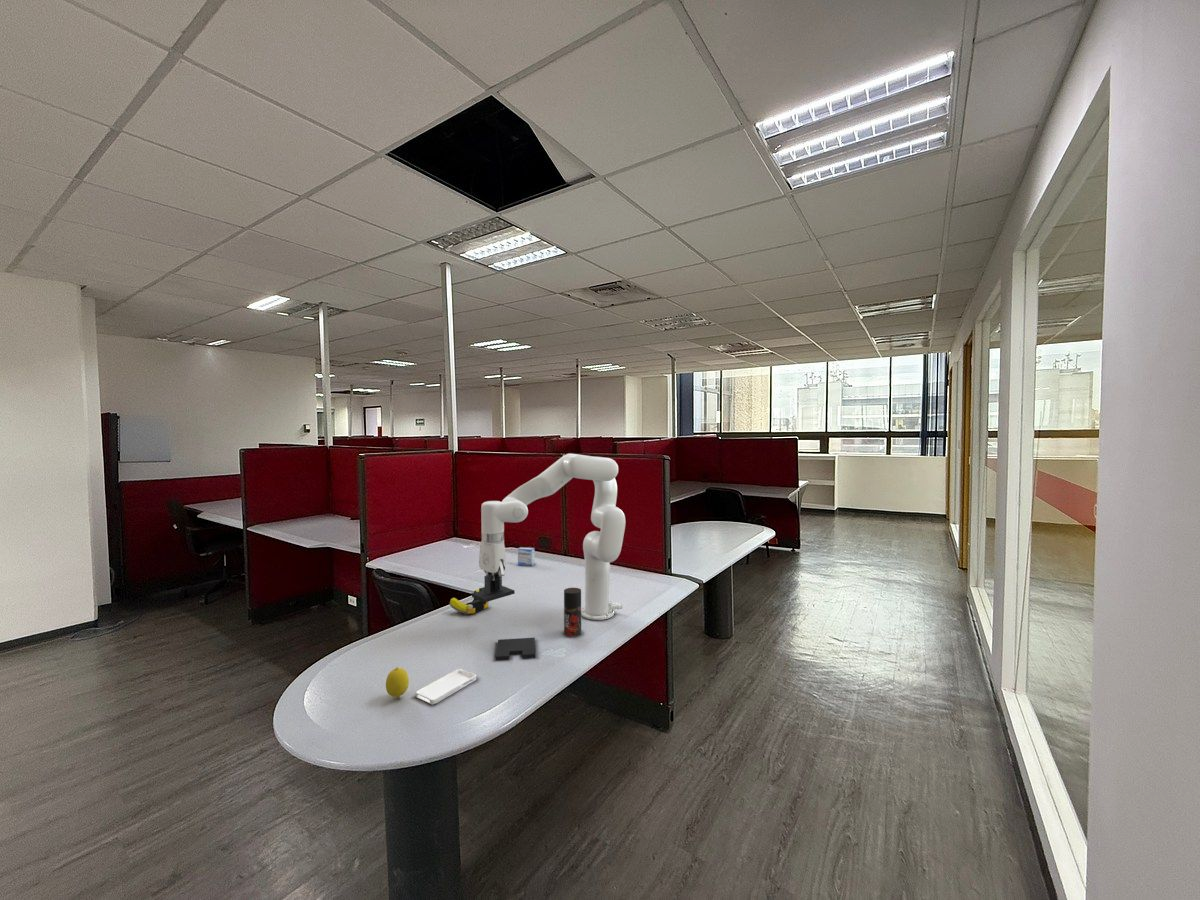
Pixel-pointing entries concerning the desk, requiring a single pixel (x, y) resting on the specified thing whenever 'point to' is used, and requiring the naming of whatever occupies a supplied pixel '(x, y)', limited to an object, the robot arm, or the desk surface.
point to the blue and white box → (526, 556)
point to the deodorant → (572, 612)
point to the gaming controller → (468, 605)
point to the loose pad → (493, 595)
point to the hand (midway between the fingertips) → (493, 590)
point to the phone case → (445, 686)
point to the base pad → (515, 648)
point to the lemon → (397, 682)
